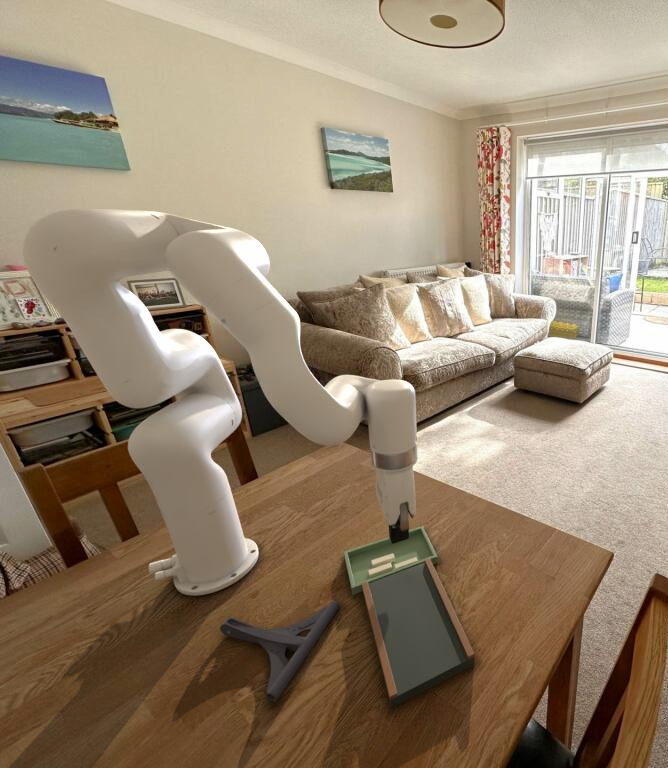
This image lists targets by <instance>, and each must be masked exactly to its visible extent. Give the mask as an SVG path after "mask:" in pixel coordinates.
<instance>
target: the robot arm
mask: <svg viewBox="0 0 668 768" xmlns="http://www.w3.org/2000/svg"><path fill="white" fill-rule="evenodd" d="M22 245H23V247H22V255H23V256H22V257H23V261H24V264H25V268H26V270H27V272H28V274H29V276H30V277H31V279H32V281H33V282H34V284H35V286H36V288H38V290H39V292H41V293H42V295H43V296H44V297H45V298H46V300H47V301H48V302H49V304H51V305H52V307H53V308H54V309H55V310H56V312H57V313H58V314H59V315H60V317H61V318H62V319H63V320H64V322H65V323H66V325H67V326H68V328H69V329H70V331H71V333H72V335H73V337H74V338H75V340H76V343H77V344H78V346H79V347H80V349H81V351H82V352H83V354H84V355H85V357H86V359H87V360H88V362H89V364H90V365H91V367H92V369H93V370H94V372H95V374H96V375H97V377H98V379H99V380H100V382H101V383H102V385H103V387H104V388H105V390H106V391H107V392H108V394H109V395H110V396H111V397H112V399H114V400H115V401H116V402H117V403H119V404H120V405H121V406H124V407H126V408H131V409H146V408H149V407H153V406H156V405H158V404H161V403H163V402H165V401H166V400H168V399H170V398H172V397H174V396H175V398H176V399H177V400H176V401H174V402H172V403H170V404H168V405H166V406H165V407H163V408H161V409H160V410H158V411H156V412H155V413H153V414H151V415H150V416H148V417H147V418H145V419H144V420H142V421H141V422H140V423H138V425H137V426H136V427H134V430H133V431H132V432H131V433H130V436H129V438H128V441H127V451H128V454H129V457H130V458H131V460H132V461H133V463H134V465H135V466H136V467H137V469H138V470H139V471H140V472H141V474H142V475H143V477H144V478H145V480H146V481H147V483H148V485H149V487H150V489H151V491H152V494H153V495H154V498H155V500H156V503H157V506H158V508H159V511H160V513H161V516H162V518H163V521H164V524H165V527H166V530H167V532H168V535H169V537H170V541H171V543H172V545H173V548H174V552H175V554H173V555H172V556H171V557H169V558H166V559H161V560H157V561H153V562H150V563H149V564H148V572H149V574H150V575H151V576H152V575H154V580H155V581H156V582H159V581H162V580H165V579H167V578H170V577H171V578H172V577H173V584H174V588H175V589H176V590H177V591H178V592H179V593H181V594H183V595H186V596H195V597H196V596H204V595H208V594H212V593H216V592H219V591H221V590H224V589H225V588H228V587H229V586H231V585H233V584H236V582H239V580H241V579H243V577H245V576H246V575H247V574H248V573H249V572H250V571H251V570H252V569H253V568H254V566H255V565H256V563H257V561H258V559H259V554H260V552H259V547H258V545H257V543H256V542H255V541H254V540H252V539H250V538H247V537H245V535H244V531H243V528H242V524H241V521H240V518H239V517H240V516H239V514H238V510H237V506H236V503H235V499H234V496H233V493H232V489H231V485H230V483H229V479H228V476H227V474H226V472H225V470H224V469H223V468H222V466H220V465H219V464H218V463H216V462H215V461H214V460H213V458H212V452H213V451H214V450H215V449H216V448H217V447H219V445H220V444H222V443H223V442H224V441H225V440H226V439H227V438H229V437H230V435H231V434H232V433H234V432H235V431H236V430H237V428H238V427H239V426H240V424H241V421H242V417H243V412H242V411H243V410H242V406H241V403H240V399H239V398H238V395H237V393H236V392H235V391H236V390H235V389H234V387H233V385H232V382H231V380H230V379H229V375H227V373H226V369H225V368H224V365H223V364H222V361H221V359H220V357H219V356H218V354H217V352H216V350H215V349H214V348H213V346H212V345H211V344H210V343H209V342H208V341H207V340H206V339H205V338H203V337H202V336H201V335H199V334H197V333H195V332H193V331H190V330H188V329H182V328H169V329H164V330H161V331H160V330H159V328H158V326H157V324H156V323H155V321H154V318H153V316H152V314H151V312H150V311H149V309H148V308H147V306H146V305H145V304H144V303H143V301H142V300H141V299H140V298H139V297H138V296H137V295H135V294H134V293H133V292H132V291H130V290H129V289H128V288H127V287H125V286H124V285H122V284H121V282H120V281H121V280H122V279H124V278H128V277H135V276H142V275H149V274H155V273H161V272H169V273H170V274H171V275H172V276H173V278H174V279H175V280H176V281H177V282H178V283H179V285H181V286H182V288H184V289H185V290H186V291H187V292H188V293H189V294H190V295H191V296H192V297H193V298H194V299H195V300H196V301H197V302H198V303H199V304H200V305H201V306H202V307H203V308H204V309H205V310H206V311H207V312H208V313H209V314H210V315H211V316H212V317H213V318H214V319H215V320H216V321H217V322H218V323H219V324H220V325H221V326H222V327H223V328H224V329H225V330H226V331H227V332H229V334H230V335H231V336H232V337H233V338H235V340H236V341H238V343H239V344H240V345H242V347H243V348H244V349H245V350H246V351H247V353H248V355H249V358H250V362H251V366H252V369H253V372H254V374H255V377H256V379H257V382H258V384H259V386H260V388H261V390H262V393H263V394H264V396H265V398H266V399H267V401H268V402H269V404H270V405H271V406H272V408H273V409H274V410H275V411H276V412H277V413H278V414H279V415H280V416H281V417H282V418H283V419H284V420H285V421H286V422H287V423H288V424H289V425H290V426H292V428H294V429H295V430H296V431H297V432H298V433H299V434H301V436H303V437H305V438H306V439H307V440H309V441H311V442H313V443H315V444H316V445H321V446H325V447H333V446H337V445H341V444H343V443H345V442H346V441H348V440H349V439H350V438H351V437H352V436H353V434H354V433H355V432H356V430H357V428H358V427H359V425H360V423H361V422H362V421H364V420H365V421H366V422H367V426H368V439H369V450H370V463H371V466H372V468H374V469H375V470H374V471H375V494H376V500H377V502H378V505H379V508H380V511H381V513H382V516H383V518H384V521H385V523H386V524H387V525H388V537H390V540H391V543H392V544H394V543H397V542H400V541H404V540H407V539H408V538H409V530H410V521H409V517H410V518H411V519H413V520H414V519H415V517H416V515H417V501H416V500H417V497H416V487H415V486H416V484H415V476H414V466H415V465H416V464H417V462H418V433H417V432H418V429H417V402H416V401H417V399H416V390H415V388H414V386H413V385H412V384H411V383H410V382H408V381H406V380H402V379H393V378H392V379H383V380H380V379H375V378H369V377H364V376H360V375H356V374H355V375H353V374H340V375H337V376H335V377H333V378H332V379H331V380H329V381H328V382H327V383H326V384H325V386H324V385H322V384H321V383H320V382H319V380H318V379H317V378H316V377H315V376H314V374H313V373H312V372H311V369H309V367H308V364H307V363H306V361H305V359H304V356H303V353H302V348H301V319H300V317H299V314H298V313H297V311H296V310H295V309H294V308H293V307H292V306H291V305H290V303H288V301H287V300H285V298H284V297H283V296H282V295H281V294H280V293H279V292H278V291H277V290H276V289H275V287H273V285H272V284H271V283H270V282H269V281H268V280H267V279H266V277H267V276H268V274H269V273H270V268H271V262H270V258H269V255H268V252H267V250H266V249H265V248H264V246H263V245H262V244H261V242H260V241H259V240H257V239H256V238H255V237H253V236H252V235H251V234H249V233H247V232H244V231H242V230H239V229H236V228H232V227H226V226H223V225H218V224H213V223H209V222H205V221H201V220H196V219H192V218H188V217H184V216H179V215H175V214H172V213H171V214H170V213H166V212H161V211H155V210H143V209H141V210H140V209H119V208H118V209H117V208H98V207H95V208H94V207H92V208H91V207H89V208H87V207H83V208H82V207H81V208H72V209H71V208H69V209H64V210H59V211H55V212H52V213H49V214H47V215H44V216H43V217H40V218H39V219H38V220H36V221H35V222H33V224H32V225H31V226H30V227H29V229H28V230H27V232H26V234H25V237H24V240H23V244H22Z"/></svg>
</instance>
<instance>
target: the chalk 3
mask: <svg viewBox="0 0 668 768" xmlns="http://www.w3.org/2000/svg"><path fill="white" fill-rule="evenodd" d="M414 562H417V558H416V557H415V558H412V559H409V560H407V561H404V562H401V563H398V564H395V565H394V566H395V569H398V568H401V567H403V566H406V565H409V564H412V563H414Z"/></svg>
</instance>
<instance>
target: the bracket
mask: <svg viewBox="0 0 668 768" xmlns="http://www.w3.org/2000/svg"><path fill="white" fill-rule="evenodd" d="M340 606H341V604H340V603H339V602H338V601H337V600H331V601H330V602H329V604H328V605H326V606H324V607H323V608H321V609H320V610H318V611H317V612H315V613H314V614H312V615H311V616H309V617H307V618H305V619H303V620H301V621H298V622H296V623H293V624H290V625H288V626H287V625H286V626H283V627H277V628H261V627H258V626H255V625H252V624H250V623H247V622H244V621H243V620H239V619H237V618H236V617H233V616H230V617H228V618H227V619H225V621H224V622H223V623H222V624H221V625H220V627H219V630H220V632H221V633H222V634H223V635H224V636H226V637H229V638H233V639H237V640H242V641H245V642H251V643H255V644H258V645H259V646H261V647H262V648H263V649H264V650H265V652H266V653H267V655H268V657H269V662H270V675H269V679H268V683H267V688H266V691H265V693H266V694H265V698H266V699H267V700H268V701H269V702H273V703H275V702H277V701H278V700H279V698H280V696H281V695H282V693H283V692H284V690H286V688H287V686H288V685H289V683H290V681H292V678H293V677H294V676H295V674H296V673H297V671H298V670H299V668H300V666H301V665H302V664H303V663H304V661H305V659H306V658H307V656H308V655H309V653H310V651H312V649H313V647H314V646H315V644H316V643H317V641H318V640H319V638H320V637H321V635H322V634H323V632H324V631H325V630H326V628H327V626H328V624H329V623H330V622H331V620H332V619H333V618H334V616H335V614H336V613H337V611H338V610H339V609H340ZM308 631H309V632H308ZM305 632H308V634H307V635H306V636H299V635H300V634H302V633H305ZM286 651H290V652H294V654H292V657H290V659H288V658H287V657H286Z"/></svg>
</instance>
